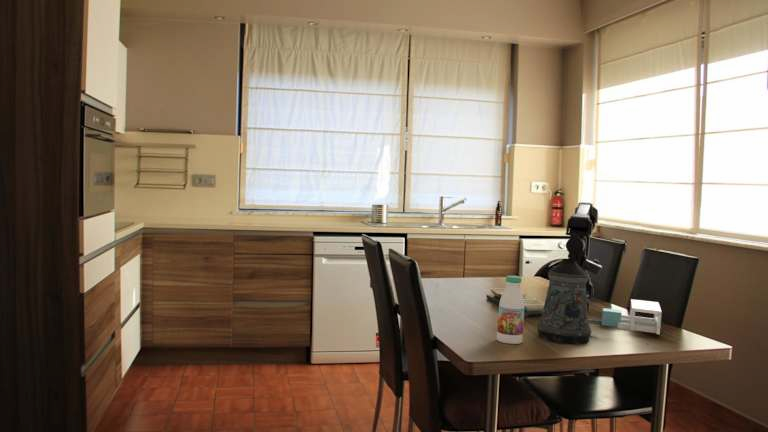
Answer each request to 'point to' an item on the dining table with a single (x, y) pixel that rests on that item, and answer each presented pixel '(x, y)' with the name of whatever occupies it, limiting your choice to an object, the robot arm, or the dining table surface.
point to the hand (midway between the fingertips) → (574, 296)
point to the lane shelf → (642, 322)
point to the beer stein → (566, 306)
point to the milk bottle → (511, 312)
